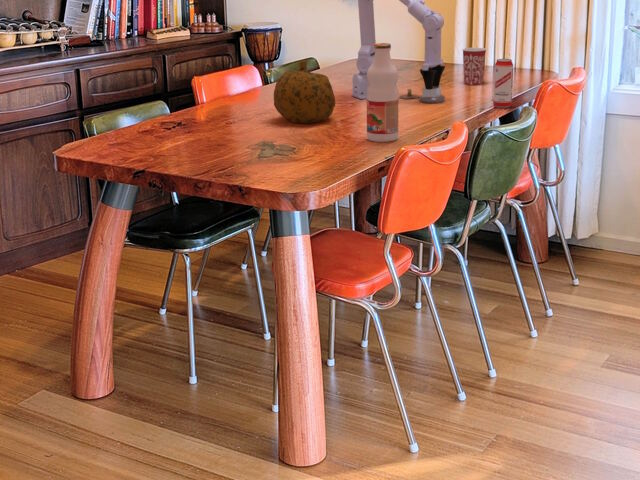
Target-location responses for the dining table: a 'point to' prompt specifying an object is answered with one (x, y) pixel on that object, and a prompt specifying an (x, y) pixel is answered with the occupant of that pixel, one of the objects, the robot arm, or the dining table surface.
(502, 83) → the beer can
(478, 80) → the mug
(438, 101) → the hub
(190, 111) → the dining table surface
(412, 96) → the stand
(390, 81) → the fruit juice
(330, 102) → the decorative pumpkin
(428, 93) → the square tube sleeve
